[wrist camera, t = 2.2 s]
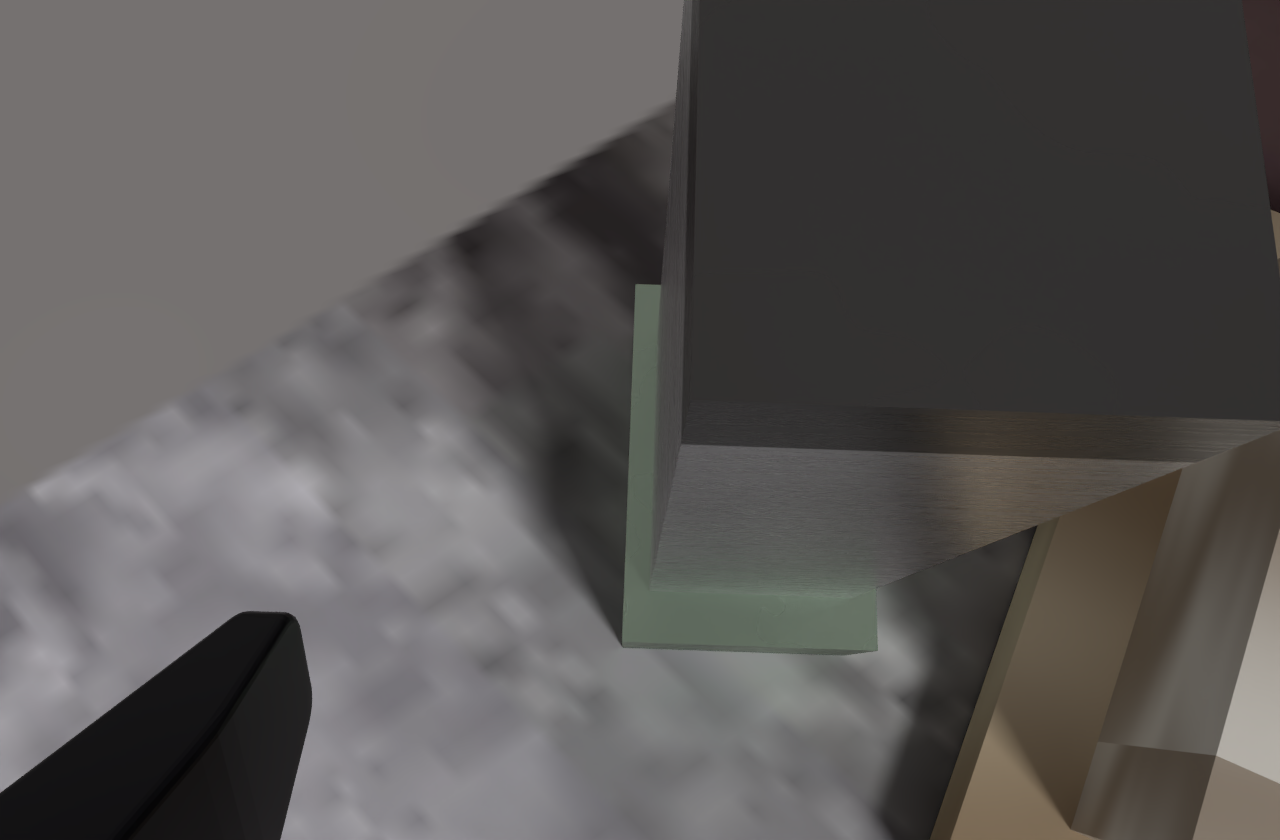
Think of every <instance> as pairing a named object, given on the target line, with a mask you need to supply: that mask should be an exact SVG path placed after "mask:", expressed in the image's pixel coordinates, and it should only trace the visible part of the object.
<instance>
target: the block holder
mask: <svg viewBox="0 0 1280 840" xmlns="http://www.w3.org/2000/svg"><path fill="white" fill-rule="evenodd" d="M1271 216H1272V223H1273V230H1274V237H1275V244H1276V252H1277V259H1278V266H1279V273H1280V213H1278V212H1275V211H1273V210H1271ZM930 840H1280V430H1278V431H1276V432H1273V433H1271V434H1268V435H1265V436H1263V437H1260V438H1258V439H1255V440H1253V441H1250V442H1248V443H1245V444H1243V445H1240V446H1237V447H1235V448H1232V449H1230V450H1227V451H1225V452H1222V453H1220V454H1217V455H1215V456H1212V457H1209V458H1207V459H1204V460H1202V461H1199V462H1197V463H1194V464H1192V465H1189V466H1186V467H1184V468H1181V469H1179V470H1176V471H1174V472H1171V473H1169V474H1166V475H1164V476H1161V477H1158V478H1156V479H1153V480H1151V481H1148V482H1146V483H1143V484H1141V485H1138V486H1136V487H1133V488H1130V489H1128V490H1125V491H1123V492H1120V493H1118V494H1115V495H1113V496H1110V497H1107V498H1105V499H1102V500H1100V501H1097V502H1095V503H1092V504H1090V505H1087V506H1085V507H1082V508H1079V509H1077V510H1074V511H1072V512H1069V513H1067V514H1064V515H1062V516H1059V517H1057V518H1054V519H1051V520H1049V521H1046V522H1044V523H1041V524H1039V525H1038V526H1037V529H1036V532H1035V534H1034V537H1033V540H1032V543H1031V546H1030V549H1029V552H1028V555H1027V558H1026V561H1025V564H1024V566H1023V569H1022V572H1021V575H1020V578H1019V581H1018V584H1017V587H1016V590H1015V593H1014V596H1013V598H1012V601H1011V604H1010V607H1009V610H1008V613H1007V616H1006V619H1005V622H1004V625H1003V628H1002V630H1001V633H1000V636H999V639H998V642H997V645H996V648H995V651H994V654H993V657H992V660H991V662H990V665H989V668H988V671H987V674H986V677H985V680H984V683H983V686H982V689H981V692H980V694H979V697H978V700H977V703H976V706H975V709H974V712H973V715H972V718H971V721H970V724H969V727H968V729H967V732H966V735H965V738H964V741H963V744H962V747H961V750H960V753H959V756H958V759H957V761H956V764H955V767H954V770H953V773H952V776H951V779H950V782H949V785H948V788H947V791H946V793H945V796H944V799H943V802H942V805H941V808H940V811H939V814H938V817H937V820H936V823H935V825H934V828H933V831H932V834H931V837H930Z"/></svg>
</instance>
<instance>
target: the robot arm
mask: <svg viewBox="0 0 1280 840" xmlns="http://www.w3.org/2000/svg"><path fill="white" fill-rule="evenodd" d="M311 708H312V688H311V682H310V677H309V672H308V666H307V661H306V655H305V650H304V645H303V639H302V634H301V629H300V625H299V623H298V621H297V619H296V617H294V616H293V615H291V614H289V613H286V612H260V611H247V612H242V613H239V614H237V615H235V616H234V617H232V618H231V619H229V620H228V621H227V622H225V623H224V624H223V625H221V626H220V627H219V628H217V629H216V630H215V631H214V632H212V633H211V634H210V635H208V636H207V637H206V638H204V639H203V640H202V641H200V642H199V643H198V644H196V645H195V646H194V647H192V648H191V649H190V650H188V651H187V652H186V653H184V654H183V655H182V656H181V657H179V658H178V659H177V660H175V661H174V662H173V663H171V664H170V665H169V666H167V667H166V668H165V669H163V670H162V671H161V672H159V673H158V674H157V675H155V676H154V677H153V678H151V679H150V680H149V681H148V682H146V683H145V684H144V685H142V686H141V687H140V688H138V689H137V690H136V691H134V692H133V693H132V694H130V695H129V696H128V697H126V698H125V699H124V700H122V701H121V702H120V703H118V704H117V705H116V706H115V707H113V708H112V709H111V710H109V711H108V712H107V713H105V714H104V715H103V716H101V717H100V718H99V719H97V720H96V721H95V722H93V723H92V724H91V725H89V726H88V727H87V728H85V729H84V730H83V731H82V732H80V733H79V734H78V735H76V736H75V737H74V738H72V739H71V740H70V741H68V742H67V743H66V744H64V745H63V746H62V747H60V748H59V749H58V750H56V751H55V752H54V753H52V754H51V755H50V756H49V757H47V758H46V759H45V760H43V761H42V762H41V763H39V764H38V765H37V766H35V767H34V768H33V769H31V770H30V771H29V772H27V773H26V774H25V775H23V776H22V777H21V778H19V779H18V780H17V781H15V782H14V783H13V784H12V785H10V786H9V787H8V788H6V789H5V790H4V791H2V792H1V793H0V840H280V839H281V835H282V831H283V827H284V823H285V819H286V814H287V810H288V806H289V802H290V798H291V794H292V790H293V786H294V782H295V778H296V774H297V770H298V766H299V762H300V758H301V754H302V749H303V745H304V741H305V737H306V733H307V729H308V725H309V721H310V716H311Z"/></svg>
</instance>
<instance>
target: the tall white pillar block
mask: <svg viewBox="0 0 1280 840" xmlns="http://www.w3.org/2000/svg"><path fill="white" fill-rule="evenodd" d="M1278 430H1280V273H1279V266H1278V259H1277V252H1276V244H1275V237H1274V230H1273V223H1272V216H1271V208H1270V201H1269V194H1268V187H1267V180H1266V172H1265V165H1264V158H1263V151H1262V143H1261V136H1260V129H1259V122H1258V115H1257V107H1256V100H1255V93H1254V86H1253V79H1252V71H1251V64H1250V57H1249V50H1248V42H1247V35H1246V28H1245V21H1244V14H1243V6H1242V0H684V6H683V19H682V32H681V43H680V56H679V69H678V80H677V93H676V105H675V118H674V130H673V142H672V155H671V167H670V180H669V192H668V204H667V217H666V229H665V241H664V254H663V266H662V279H661V285H648V284H636V285H635V311H634V338H633V364H632V390H631V417H630V443H629V470H628V496H627V522H626V549H625V575H624V602H623V628H622V645H623V648H649V649H677V650H706V651H734V652H762V653H790V654H819V655H851V654H858V653H865V652H873V651H878V644H877V605H876V588H878V587H881V586H883V585H886V584H888V583H891V582H893V581H896V580H899V579H901V578H904V577H906V576H909V575H911V574H914V573H916V572H919V571H922V570H924V569H927V568H929V567H932V566H934V565H937V564H939V563H942V562H944V561H947V560H950V559H952V558H955V557H957V556H960V555H962V554H965V553H967V552H970V551H972V550H975V549H978V548H980V547H983V546H985V545H988V544H990V543H993V542H995V541H998V540H1000V539H1003V538H1006V537H1008V536H1011V535H1013V534H1016V533H1018V532H1021V531H1023V530H1026V529H1029V528H1031V527H1034V526H1036V525H1039V524H1041V523H1044V522H1046V521H1049V520H1051V519H1054V518H1057V517H1059V516H1062V515H1064V514H1067V513H1069V512H1072V511H1074V510H1077V509H1079V508H1082V507H1085V506H1087V505H1090V504H1092V503H1095V502H1097V501H1100V500H1102V499H1105V498H1107V497H1110V496H1113V495H1115V494H1118V493H1120V492H1123V491H1125V490H1128V489H1130V488H1133V487H1136V486H1138V485H1141V484H1143V483H1146V482H1148V481H1151V480H1153V479H1156V478H1158V477H1161V476H1164V475H1166V474H1169V473H1171V472H1174V471H1176V470H1179V469H1181V468H1184V467H1186V466H1189V465H1192V464H1194V463H1197V462H1199V461H1202V460H1204V459H1207V458H1209V457H1212V456H1215V455H1217V454H1220V453H1222V452H1225V451H1227V450H1230V449H1232V448H1235V447H1237V446H1240V445H1243V444H1245V443H1248V442H1250V441H1253V440H1255V439H1258V438H1260V437H1263V436H1265V435H1268V434H1271V433H1273V432H1276V431H1278Z"/></svg>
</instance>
